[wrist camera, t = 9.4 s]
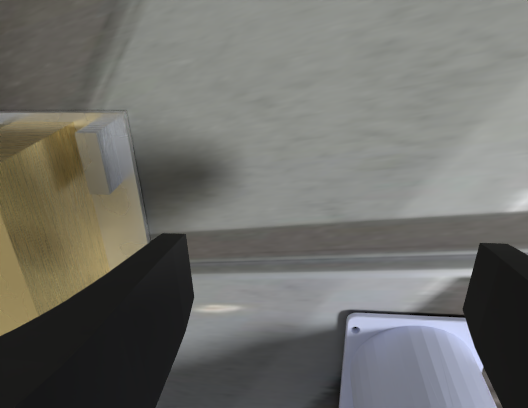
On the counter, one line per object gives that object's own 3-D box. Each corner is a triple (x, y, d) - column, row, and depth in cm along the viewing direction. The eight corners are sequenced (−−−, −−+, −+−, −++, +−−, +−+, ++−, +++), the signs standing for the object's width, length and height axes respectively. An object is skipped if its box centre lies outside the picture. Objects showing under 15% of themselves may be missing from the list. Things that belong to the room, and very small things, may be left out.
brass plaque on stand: (123, 327, 25) (75, 416, 20) (77, 324, 26) (17, 411, 20) (73, 121, 19) (-16, 171, 14) (14, 121, 20) (-95, 170, 14)
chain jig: (166, 331, 26) (156, 355, 24) (54, 325, 26) (36, 347, 25) (126, 110, 19) (109, 121, 18) (-22, 110, 20) (-52, 121, 18)
